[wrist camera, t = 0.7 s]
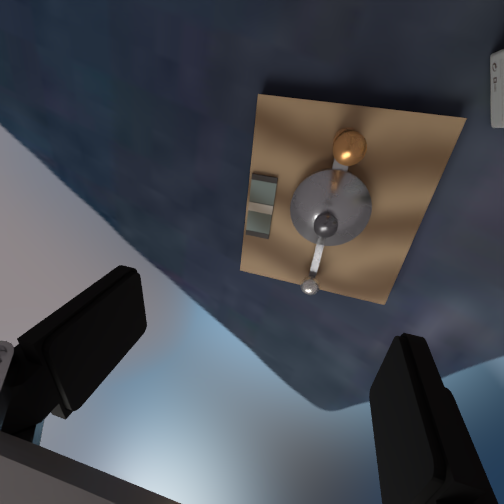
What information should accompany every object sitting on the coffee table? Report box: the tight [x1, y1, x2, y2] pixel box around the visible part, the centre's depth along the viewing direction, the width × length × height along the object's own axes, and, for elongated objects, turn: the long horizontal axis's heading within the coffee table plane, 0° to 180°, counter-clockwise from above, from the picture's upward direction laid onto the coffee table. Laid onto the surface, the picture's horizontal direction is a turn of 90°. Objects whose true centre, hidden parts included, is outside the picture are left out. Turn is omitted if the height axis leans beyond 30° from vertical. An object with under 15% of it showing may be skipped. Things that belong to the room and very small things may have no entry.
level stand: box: [240, 94, 467, 305], centre depth 29 cm, size 20×18×2 cm
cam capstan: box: [290, 128, 372, 295], centre depth 26 cm, size 18×8×6 cm, turn 174°
